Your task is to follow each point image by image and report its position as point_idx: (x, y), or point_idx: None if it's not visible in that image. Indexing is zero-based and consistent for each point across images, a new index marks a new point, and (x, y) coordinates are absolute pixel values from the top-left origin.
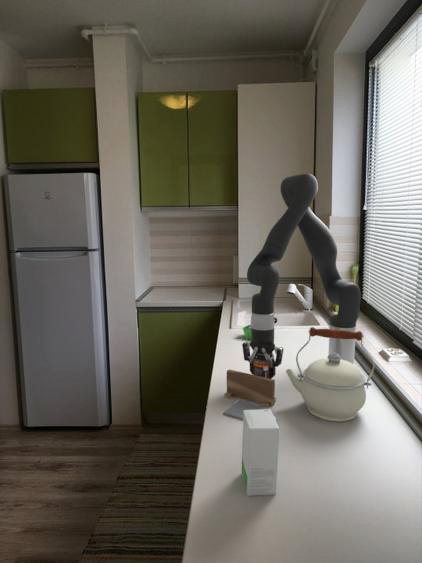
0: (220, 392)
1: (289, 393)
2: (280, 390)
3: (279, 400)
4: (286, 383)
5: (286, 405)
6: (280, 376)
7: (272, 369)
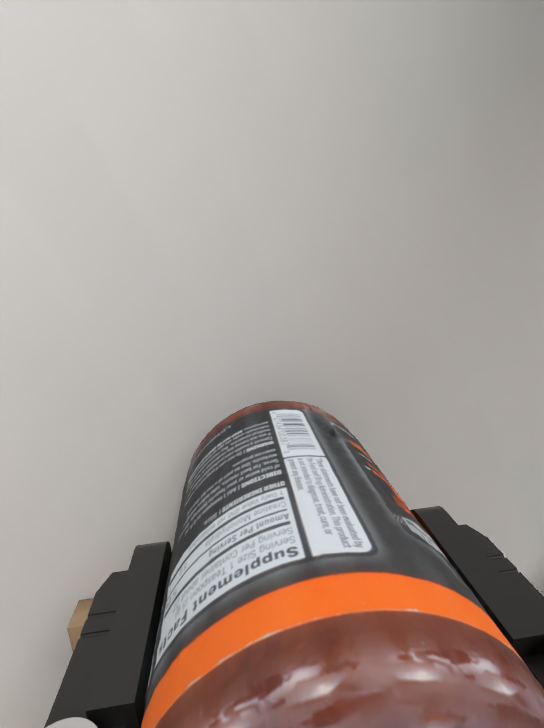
0: (17, 681)
1: (485, 370)
2: (401, 363)
3: (458, 517)
4: (389, 177)
5: (522, 548)
6: (251, 7)
7: None
